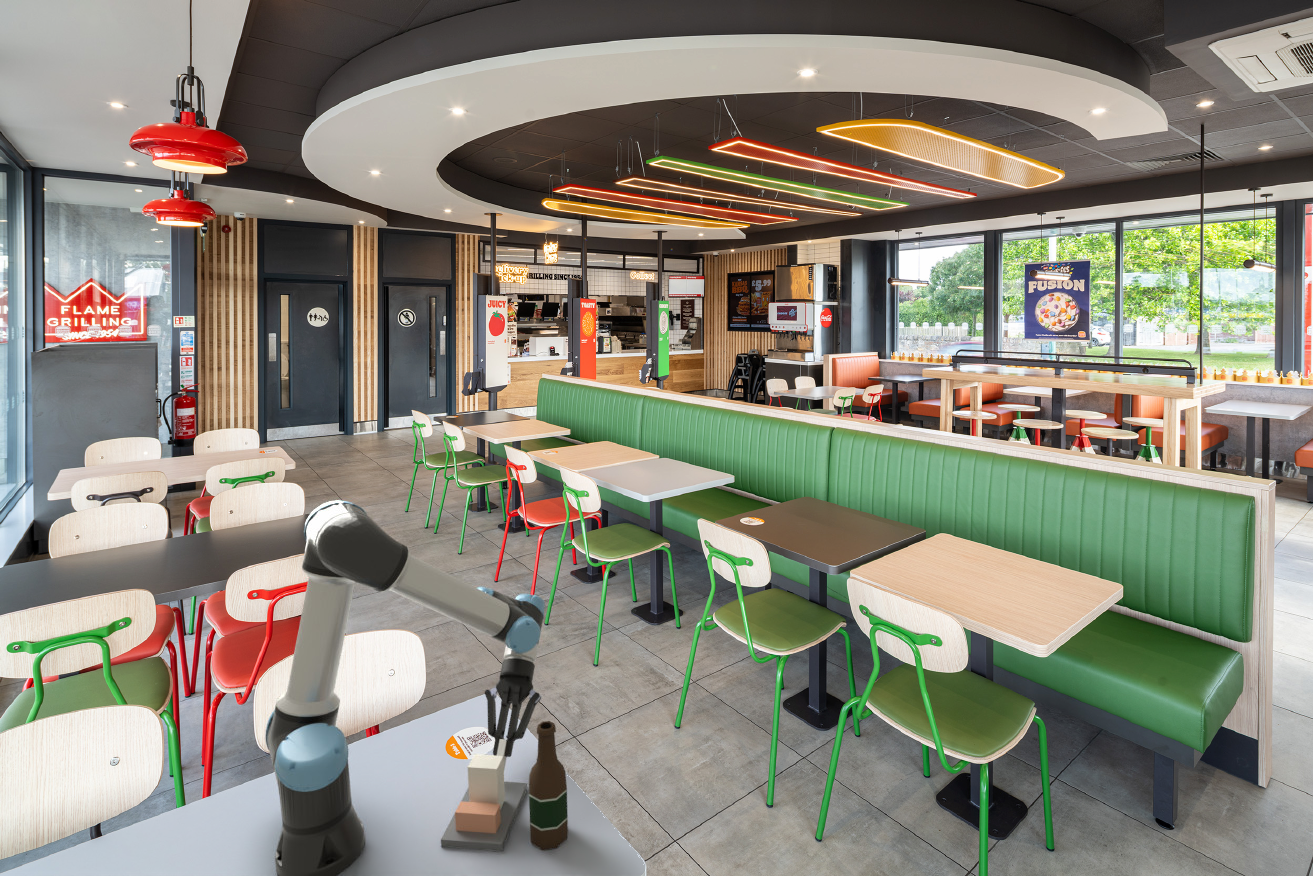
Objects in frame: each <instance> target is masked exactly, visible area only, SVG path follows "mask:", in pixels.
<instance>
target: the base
mask: <svg viewBox="0 0 1313 876" xmlns="http://www.w3.org/2000/svg"><path fill="white" fill-rule="evenodd" d="M504 786H505V801H504V803H503V805H502V807H501V810H500V815H501V823H500V825H499V827H498V830H497V832H496V833H483V832H470V831H456V822H455V813H453V816H452V818H451V820H450V822H449V824H448V825H447V827H446V829H445V831H444V833H443V835H442V837H441V838H440V845H441V846H440V847H445V848H456V849H457V848H458V849H471V850H486V851H497V852H502V851H504V848H505V845H506V842H507V840H508V837H509V835H510V833H511V830H512V827H513V825H514V822H515V821H516V817H517V815H518V812H519V810H520V808H521V806H522V803H523V800H524V799H525V796H526V793H527V790H528V782H517V781H516V782H515V781H506V780H504ZM461 801H462V802H469V786H468V788H467V789H466V791H465V794H464V796H463V797H462V799H461Z"/></svg>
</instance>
